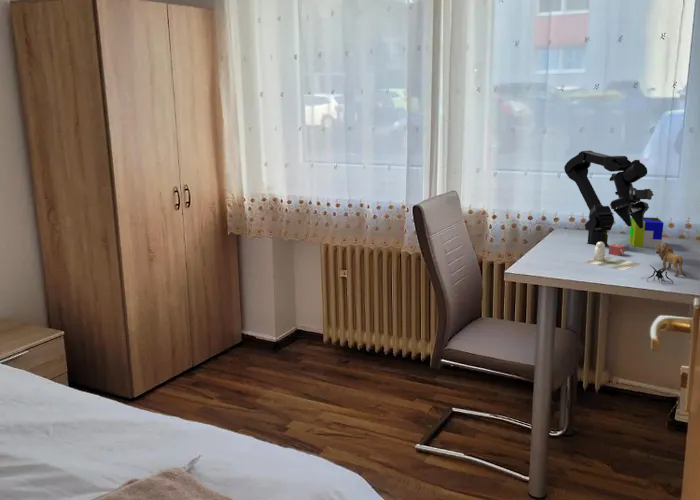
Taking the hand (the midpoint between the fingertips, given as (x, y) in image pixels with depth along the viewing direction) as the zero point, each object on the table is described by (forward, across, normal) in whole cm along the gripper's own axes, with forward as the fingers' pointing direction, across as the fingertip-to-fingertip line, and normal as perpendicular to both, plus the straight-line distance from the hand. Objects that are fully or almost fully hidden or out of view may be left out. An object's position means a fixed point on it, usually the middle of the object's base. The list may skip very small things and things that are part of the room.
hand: (635, 227), depth 245 cm
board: (+13, -12, +7) cm, 19 cm away
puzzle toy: (+2, +26, +10) cm, 28 cm away
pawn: (+10, -12, +11) cm, 19 cm away
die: (+8, +1, +11) cm, 13 cm away
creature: (+24, -19, -10) cm, 32 cm away
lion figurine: (+20, -5, -9) cm, 22 cm away
